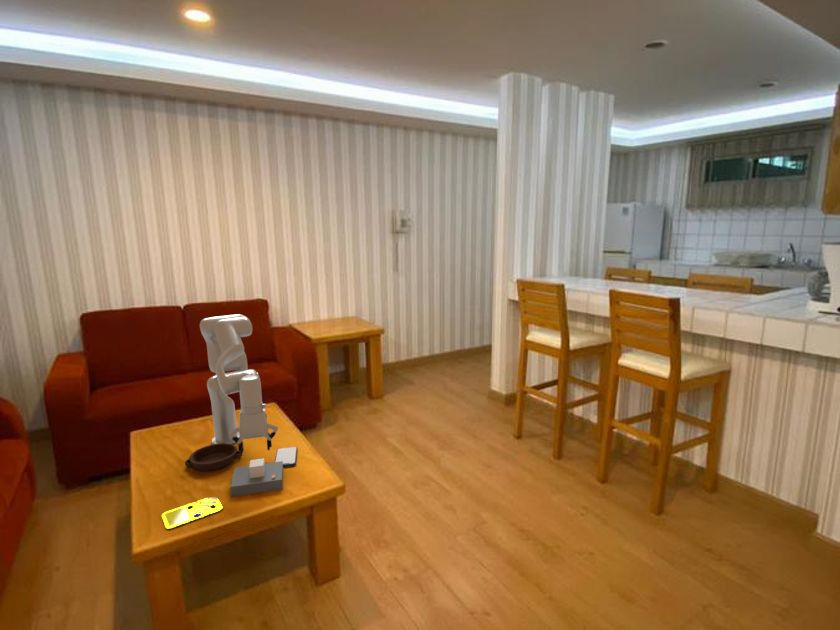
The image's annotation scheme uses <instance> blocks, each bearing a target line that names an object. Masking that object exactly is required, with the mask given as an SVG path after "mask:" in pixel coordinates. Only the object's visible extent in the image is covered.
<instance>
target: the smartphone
mask: <svg viewBox="0 0 840 630" xmlns="http://www.w3.org/2000/svg"><path fill="white" fill-rule="evenodd" d="M297 457H298V447H297V446H289V447H281V448H278V449H277V450H276V454H275V459H274V462H281V461H283V469H284V468H285V469H286V468H293V467H295V466H296V465H297Z"/></svg>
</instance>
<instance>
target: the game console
mask: <svg viewBox="0 0 840 630" xmlns="http://www.w3.org/2000/svg"><path fill="white" fill-rule="evenodd" d="M223 510H224V507H223V505H222V503H221V501H220V500H219V499H218V498H217V497H214V496H213V497H211V496H210V497H205V498H203V499H200V500H197V501H194V502H191V503H187V504H185V505H181V506H180V507H176V508H173V509H170V510H166V511H165V512H163V513H162V514H161V519H162V521H163V524H164V527H165V530H167V531H168V530H169V531H170V530H171V531H172V530H174V529H177V528H179V527H182V526H185V525H187V524H191V523H192V522H196V521H198V520H199V521H200V520H201V519H203V518H206V517H209V516H212V515H215V514H217V513H220V512H222V511H223Z"/></svg>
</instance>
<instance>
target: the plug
mask: <svg viewBox="0 0 840 630" xmlns="http://www.w3.org/2000/svg"><path fill="white" fill-rule="evenodd" d="M265 464H266V462H265V458H264V457H262V458H256V459H251V460H250V461H249V465H248V466H249V470H250V478H256V477H262V476H264V474H265Z"/></svg>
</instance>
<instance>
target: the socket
mask: <svg viewBox="0 0 840 630" xmlns="http://www.w3.org/2000/svg"><path fill="white" fill-rule="evenodd" d="M249 466H250V465H245V466H238V467H234V470H233V475H232V479H231V482H230V497H231V498H234V497H240V496H246V495H252V494H253V495H255V494H259V493H266V492H272V491H273V492H274V491H279V490H283V489H284V488H283V486H284V485H283V484H284V468H283V461H281V462H275V461H274V462H267V463H266V462H265V474H264V476H262V477H256V478H250V470H249Z"/></svg>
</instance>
